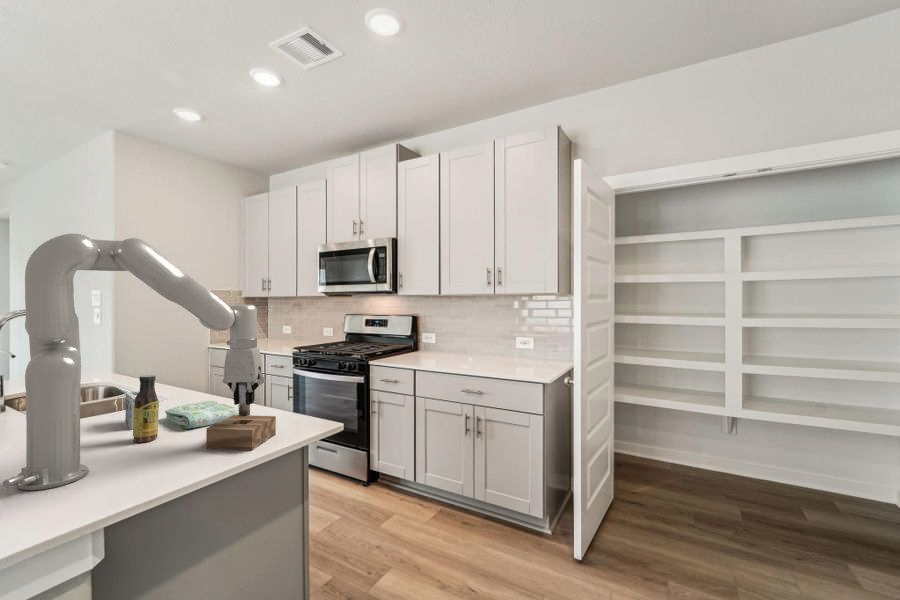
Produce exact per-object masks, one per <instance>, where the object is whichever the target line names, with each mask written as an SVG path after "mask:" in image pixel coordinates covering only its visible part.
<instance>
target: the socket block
mask: <svg viewBox="0 0 900 600" xmlns="http://www.w3.org/2000/svg"><path fill="white" fill-rule="evenodd" d="M276 421H277V417H276V416H275V415H252V414H250V415H248V416H243V417H241V416H239V415H233V416H231V417H229V418H227V419H225V420H223V421H221V422H219V423H217V424H213V425H209V427H208V426H207V427H206V433H205V434H206V435H205V436H206V437H205V438H206V442H205V443H206V444H205V445H206V450H208V449H209V450H230V451H234V450H235V451H250V452H251V451H254V450H255V449H257V448H258V447H259V446H261V445H263V444H264V443H265V442H267V441H268V440H270V439H272V438H273V437H275V436H276V435H277V434H276V433H277V431H276V430H277V429H276V428H277V422H276Z"/></svg>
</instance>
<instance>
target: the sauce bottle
mask: <svg viewBox="0 0 900 600" xmlns="http://www.w3.org/2000/svg"><path fill="white" fill-rule="evenodd" d="M155 381H156V375H155V374H145V375H140V376H139V391H140V392H139V393H138V395H137V396H136V398H135V407H134V422H133V430H132V437H133V439H132V440H133V443H138V444H139V443H147V442H152V441H154V440H155V439H157V438H158V433H159V412H160V411H159V409H160V401H159V399H158V396H157V392H156V390H155V384H156V383H155Z"/></svg>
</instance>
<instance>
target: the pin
mask: <svg viewBox="0 0 900 600" xmlns="http://www.w3.org/2000/svg"><path fill="white" fill-rule="evenodd" d="M247 392H248V387H247V383H242V382H238V404H237V406H238V410H239V416H241V417H243V416H248V415H251V404H250V405H246V393H247Z"/></svg>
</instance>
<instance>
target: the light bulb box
mask: <svg viewBox="0 0 900 600" xmlns="http://www.w3.org/2000/svg"><path fill="white" fill-rule="evenodd" d="M139 392H140V390H139V391H134V392H133V391H132V392H126V393H125V413H124V414H125V417H124V418H125V422H124V423H125V425H126V426H127V427H128V428H129V430H131V431H133V422H134V407H135V398H136V396H137V395H138V393H139Z"/></svg>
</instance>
